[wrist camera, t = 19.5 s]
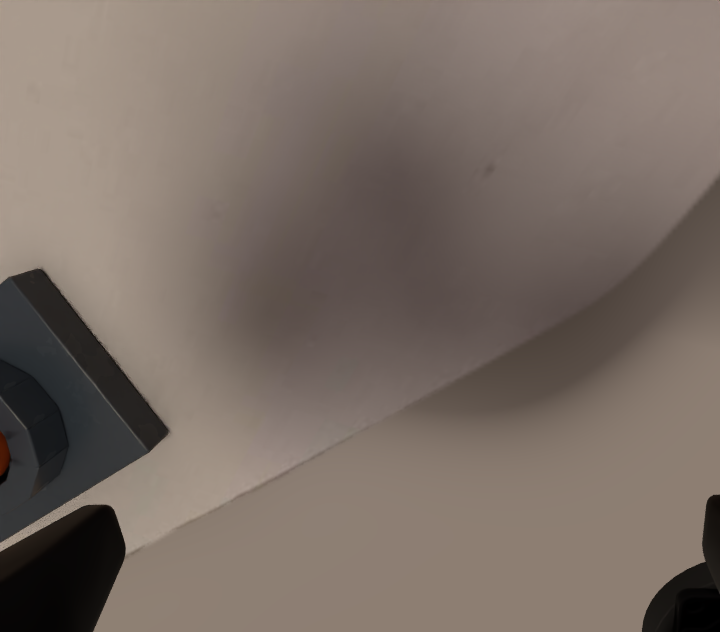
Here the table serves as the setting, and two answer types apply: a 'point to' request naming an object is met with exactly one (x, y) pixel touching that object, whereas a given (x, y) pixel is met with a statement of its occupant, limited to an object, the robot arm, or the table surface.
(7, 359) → the box
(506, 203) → the table surface
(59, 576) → the robot arm
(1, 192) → the table surface
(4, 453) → the button
